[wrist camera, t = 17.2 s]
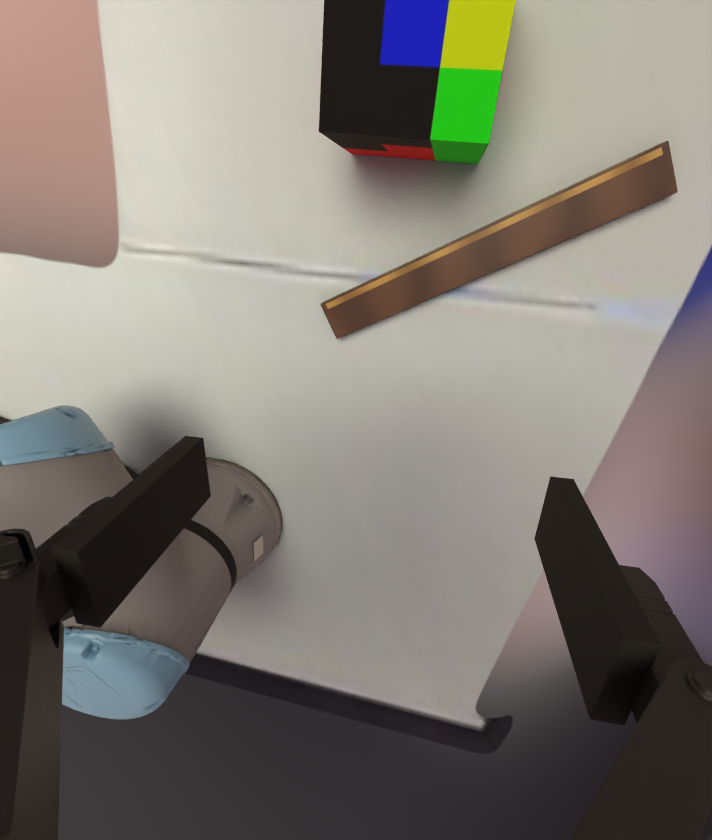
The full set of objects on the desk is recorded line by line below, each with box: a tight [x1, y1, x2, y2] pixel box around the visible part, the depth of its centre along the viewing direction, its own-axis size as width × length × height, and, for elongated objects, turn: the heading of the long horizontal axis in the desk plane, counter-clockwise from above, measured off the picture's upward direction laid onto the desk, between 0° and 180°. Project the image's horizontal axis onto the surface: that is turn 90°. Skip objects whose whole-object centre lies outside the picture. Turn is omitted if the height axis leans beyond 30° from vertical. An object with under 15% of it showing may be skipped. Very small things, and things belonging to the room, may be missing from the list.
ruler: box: [321, 141, 677, 339], centre depth 35 cm, size 28×4×1 cm, turn 115°
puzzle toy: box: [319, 0, 516, 164], centre depth 27 cm, size 10×10×10 cm
